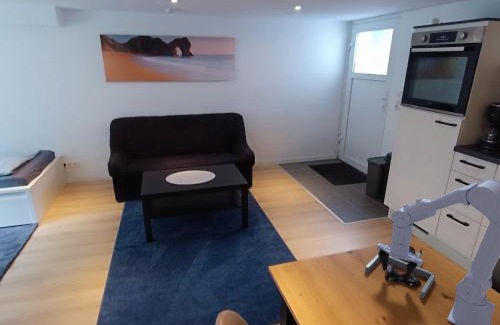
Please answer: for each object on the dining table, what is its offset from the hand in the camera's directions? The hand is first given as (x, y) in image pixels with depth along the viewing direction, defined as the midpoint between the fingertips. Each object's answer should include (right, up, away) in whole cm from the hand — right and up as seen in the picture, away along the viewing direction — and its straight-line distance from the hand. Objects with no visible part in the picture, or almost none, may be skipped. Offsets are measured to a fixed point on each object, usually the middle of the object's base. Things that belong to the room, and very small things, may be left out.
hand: (395, 274), depth 108 cm
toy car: (+4, -3, +2) cm, 5 cm away
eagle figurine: (+12, +1, +14) cm, 19 cm away
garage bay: (+3, -2, +4) cm, 6 cm away
